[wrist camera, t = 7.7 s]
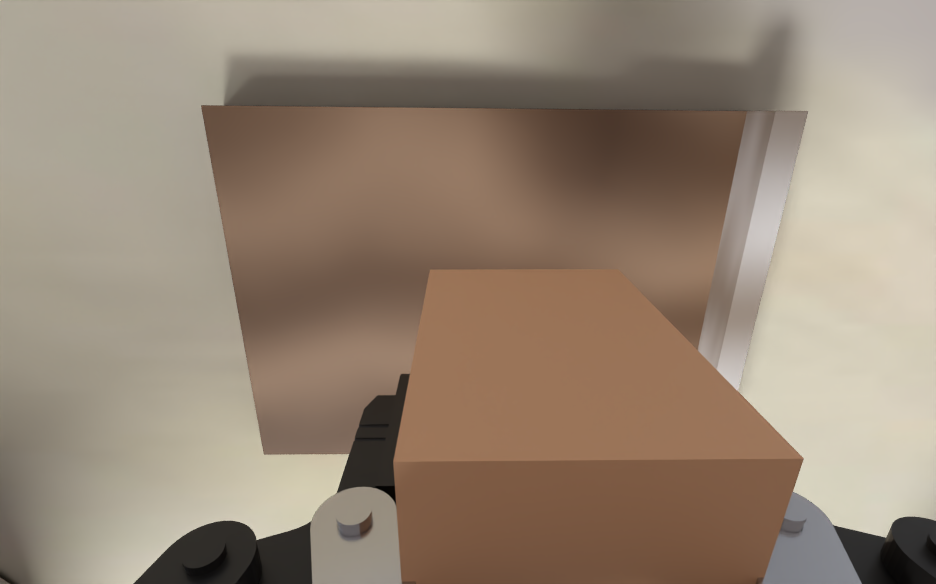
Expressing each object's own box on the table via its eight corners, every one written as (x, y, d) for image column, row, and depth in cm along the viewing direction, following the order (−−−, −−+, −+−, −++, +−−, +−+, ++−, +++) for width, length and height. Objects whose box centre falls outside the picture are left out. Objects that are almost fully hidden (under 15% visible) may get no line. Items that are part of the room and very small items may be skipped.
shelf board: (687, 430, 22) (721, 476, 19) (276, 432, 22) (249, 479, 19) (755, 111, 17) (814, 111, 14) (222, 106, 17) (175, 104, 14)
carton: (435, 469, 13) (414, 769, 7) (430, 269, 11) (393, 461, 5) (598, 468, 13) (711, 764, 7) (624, 269, 11) (817, 458, 5)
